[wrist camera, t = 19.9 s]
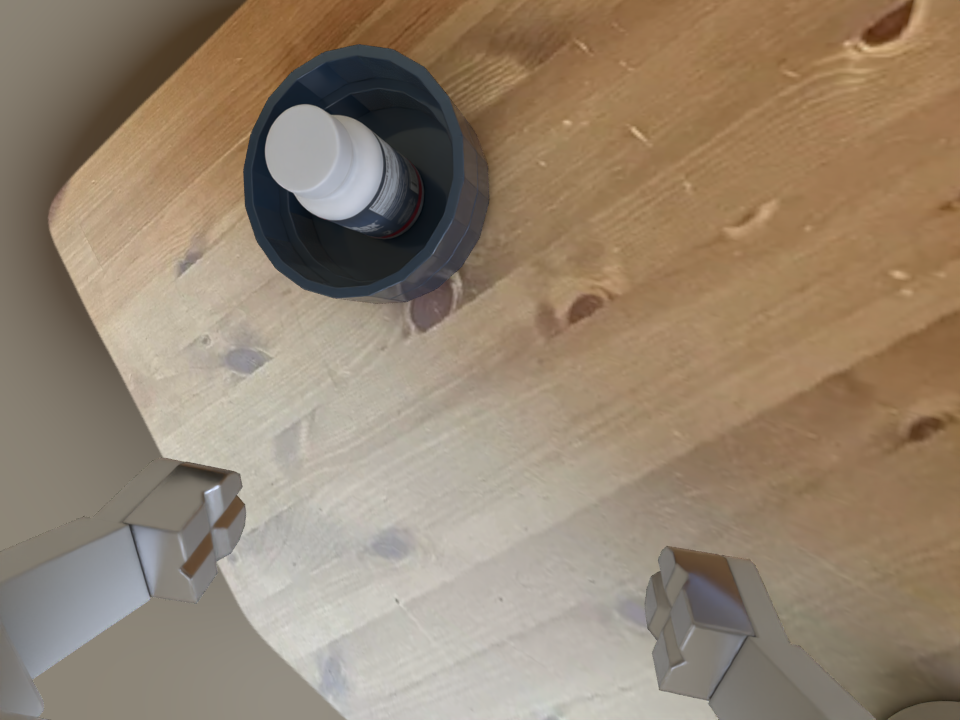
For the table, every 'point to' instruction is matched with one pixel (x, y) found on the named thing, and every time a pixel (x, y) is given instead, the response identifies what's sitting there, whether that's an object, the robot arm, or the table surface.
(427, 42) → the table surface
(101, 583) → the robot arm
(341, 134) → the pill bottle
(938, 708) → the travel mug
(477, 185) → the bowl
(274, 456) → the table surface
